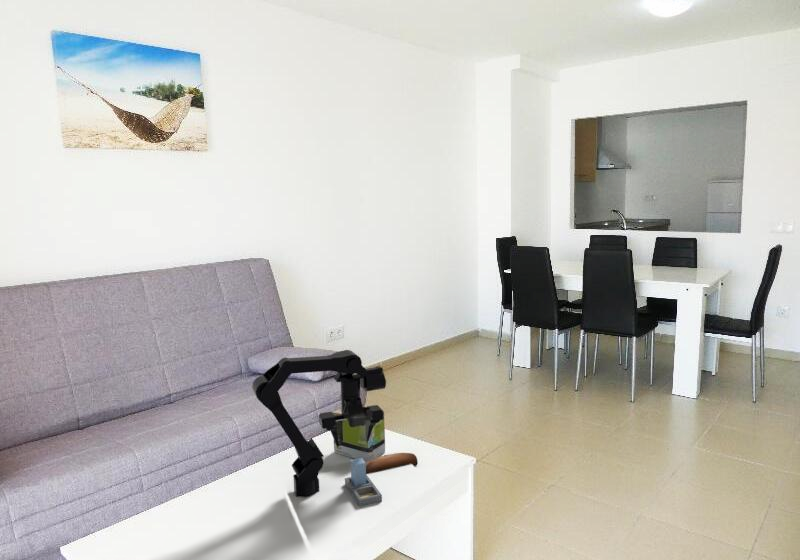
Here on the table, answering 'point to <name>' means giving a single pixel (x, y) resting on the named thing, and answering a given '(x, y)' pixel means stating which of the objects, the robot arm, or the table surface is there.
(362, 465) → the plug
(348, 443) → the tea box
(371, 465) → the sunglasses case
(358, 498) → the panel
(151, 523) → the table surface
